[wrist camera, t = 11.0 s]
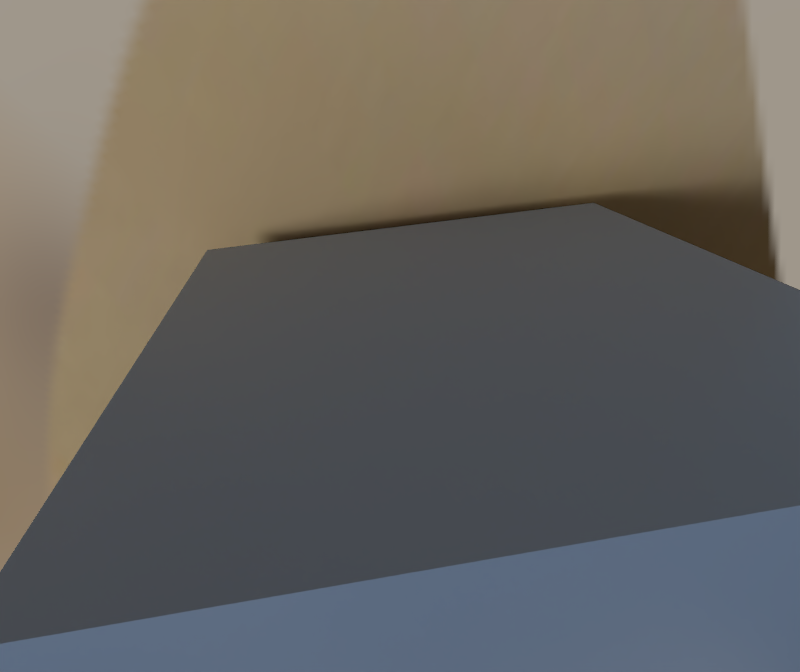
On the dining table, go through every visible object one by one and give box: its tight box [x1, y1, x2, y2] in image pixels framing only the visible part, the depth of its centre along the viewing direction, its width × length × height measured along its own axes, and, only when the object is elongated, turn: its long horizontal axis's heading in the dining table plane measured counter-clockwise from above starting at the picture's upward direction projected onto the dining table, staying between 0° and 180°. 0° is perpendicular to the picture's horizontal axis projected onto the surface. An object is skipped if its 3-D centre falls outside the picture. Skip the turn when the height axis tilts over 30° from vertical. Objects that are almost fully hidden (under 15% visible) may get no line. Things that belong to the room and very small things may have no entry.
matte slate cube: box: [0, 203, 800, 672], centre depth 9 cm, size 8×8×9 cm
